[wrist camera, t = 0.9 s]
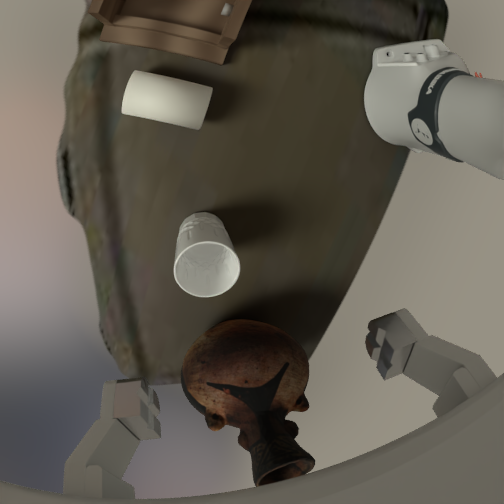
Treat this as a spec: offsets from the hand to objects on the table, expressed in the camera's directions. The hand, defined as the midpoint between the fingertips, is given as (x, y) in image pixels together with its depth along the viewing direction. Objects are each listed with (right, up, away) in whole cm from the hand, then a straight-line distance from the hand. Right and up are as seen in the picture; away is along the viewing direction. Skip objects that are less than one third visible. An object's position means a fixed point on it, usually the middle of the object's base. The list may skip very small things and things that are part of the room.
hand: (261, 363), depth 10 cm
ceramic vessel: (-3, -11, +46) cm, 47 cm away
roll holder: (-9, +34, +17) cm, 39 cm away
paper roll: (-11, +23, +24) cm, 35 cm away
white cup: (-8, +7, +34) cm, 36 cm away
